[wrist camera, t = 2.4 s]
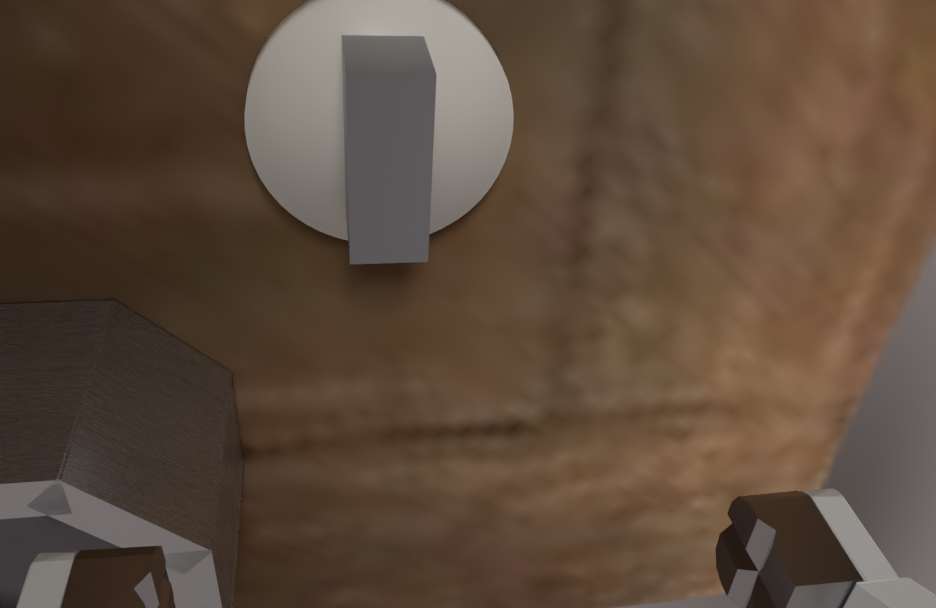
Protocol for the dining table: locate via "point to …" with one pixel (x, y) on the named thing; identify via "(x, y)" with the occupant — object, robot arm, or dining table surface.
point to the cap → (378, 121)
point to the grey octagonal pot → (116, 447)
